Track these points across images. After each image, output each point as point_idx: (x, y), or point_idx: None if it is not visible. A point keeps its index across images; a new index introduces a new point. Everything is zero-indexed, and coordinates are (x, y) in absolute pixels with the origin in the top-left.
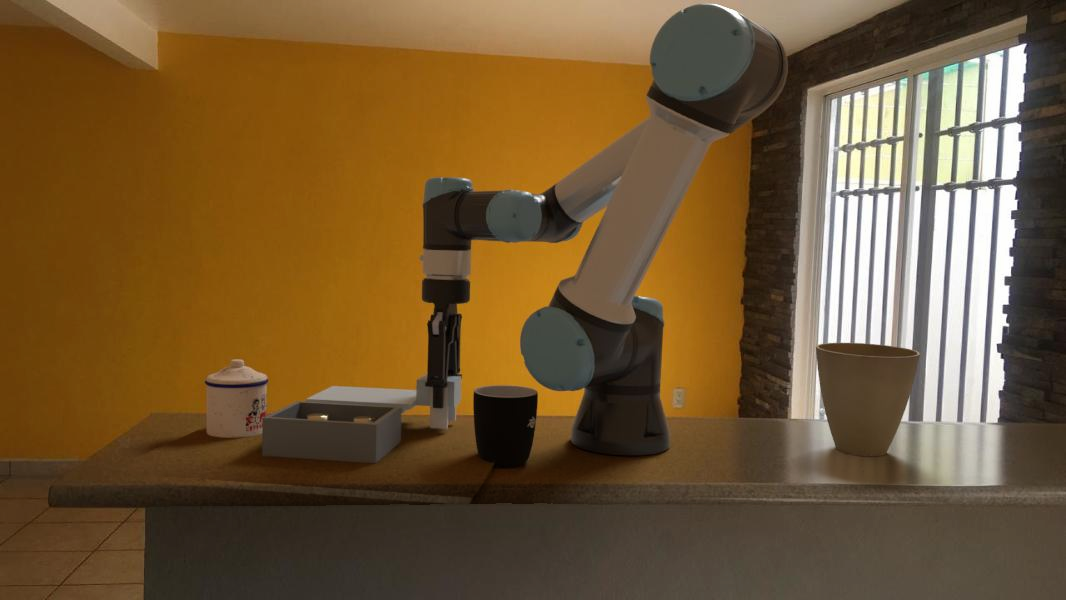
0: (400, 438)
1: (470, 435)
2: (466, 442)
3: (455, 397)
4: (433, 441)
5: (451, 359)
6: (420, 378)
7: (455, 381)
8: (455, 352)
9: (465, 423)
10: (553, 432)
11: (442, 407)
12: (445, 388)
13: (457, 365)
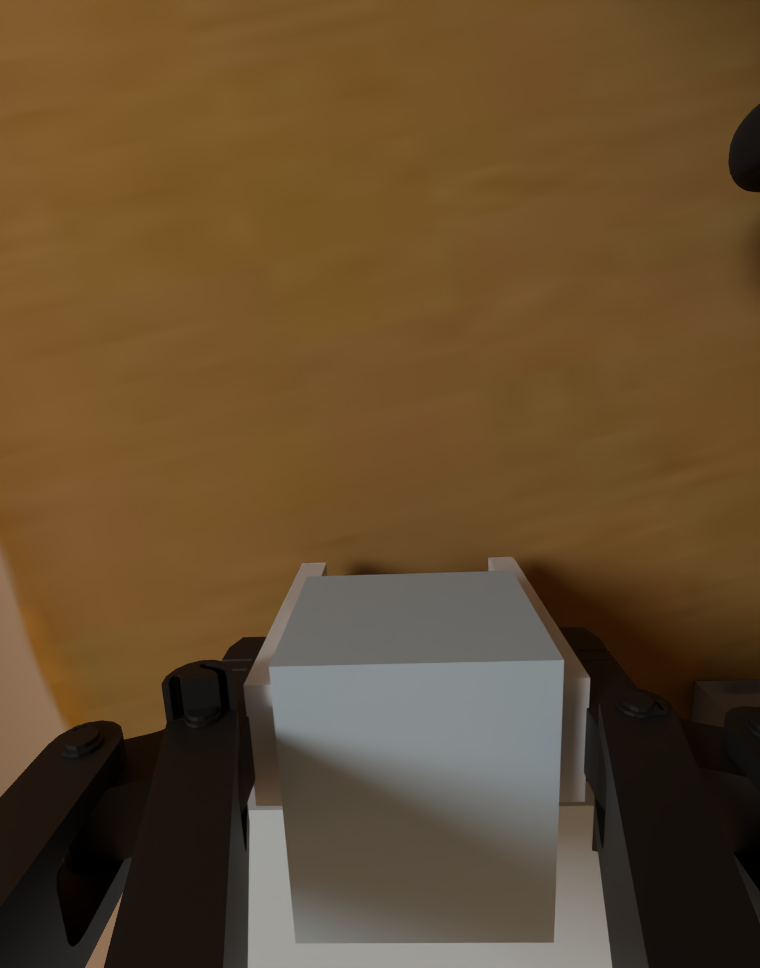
0: (725, 704)
1: (408, 451)
2: (549, 437)
3: (478, 595)
4: (564, 582)
5: (232, 898)
6: (480, 932)
7: (514, 658)
8: (195, 959)
9: (173, 532)
10: (201, 12)
11: (566, 629)
12: (584, 689)
13: (95, 788)
